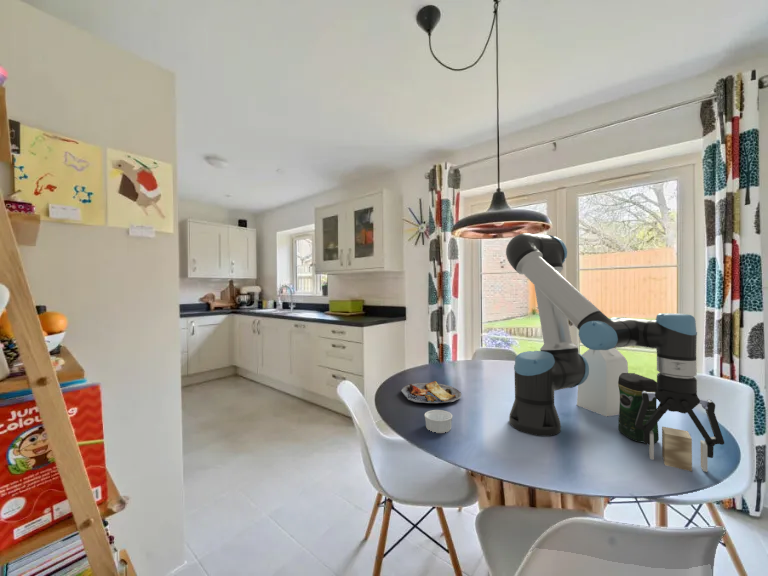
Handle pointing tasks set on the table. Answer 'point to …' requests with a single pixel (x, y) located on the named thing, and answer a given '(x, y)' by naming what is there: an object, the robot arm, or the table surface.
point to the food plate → (435, 388)
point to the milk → (602, 381)
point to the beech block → (677, 448)
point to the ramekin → (438, 421)
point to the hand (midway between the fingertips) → (676, 462)
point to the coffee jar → (635, 404)
